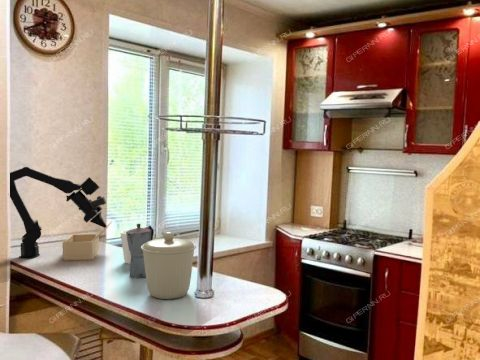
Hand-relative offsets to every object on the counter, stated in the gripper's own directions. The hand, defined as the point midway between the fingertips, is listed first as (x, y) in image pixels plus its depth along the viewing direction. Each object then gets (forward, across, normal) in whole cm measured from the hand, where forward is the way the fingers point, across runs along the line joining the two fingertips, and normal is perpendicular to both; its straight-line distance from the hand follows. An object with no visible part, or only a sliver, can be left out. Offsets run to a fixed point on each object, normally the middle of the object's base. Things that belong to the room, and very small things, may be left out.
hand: (105, 227), depth 212 cm
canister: (+28, -66, -13) cm, 73 cm away
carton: (+2, -6, +15) cm, 16 cm away
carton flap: (0, -6, +1) cm, 6 cm away
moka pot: (+21, -41, -5) cm, 46 cm away
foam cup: (+18, -20, -2) cm, 27 cm away
